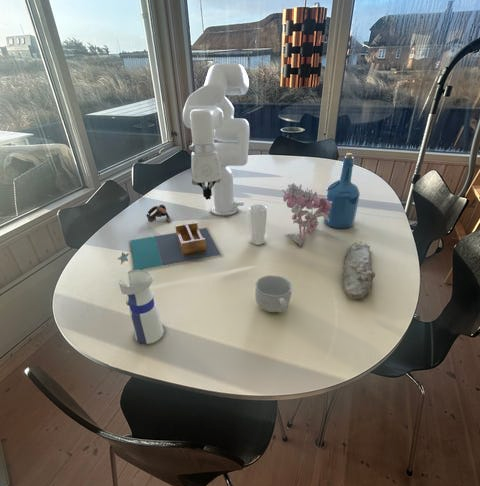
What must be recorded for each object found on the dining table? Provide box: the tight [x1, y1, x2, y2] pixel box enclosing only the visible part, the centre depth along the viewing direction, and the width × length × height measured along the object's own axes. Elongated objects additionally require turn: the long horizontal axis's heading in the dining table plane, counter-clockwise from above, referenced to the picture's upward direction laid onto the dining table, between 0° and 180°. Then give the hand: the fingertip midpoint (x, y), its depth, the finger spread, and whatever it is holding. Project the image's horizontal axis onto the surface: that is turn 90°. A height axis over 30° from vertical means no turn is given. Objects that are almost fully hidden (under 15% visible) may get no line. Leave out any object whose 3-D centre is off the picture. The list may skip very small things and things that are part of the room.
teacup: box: [254, 275, 293, 313], centre depth 95 cm, size 14×11×8 cm
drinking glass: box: [248, 204, 268, 246], centre depth 127 cm, size 7×7×15 cm
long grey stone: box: [342, 241, 376, 300], centre depth 111 cm, size 35×5×10 cm
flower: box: [281, 182, 332, 247], centre depth 130 cm, size 20×22×25 cm
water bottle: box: [117, 251, 165, 345], centre depth 83 cm, size 8×9×25 cm
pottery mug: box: [145, 204, 171, 223], centre depth 149 cm, size 12×10×8 cm
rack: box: [174, 221, 207, 256], centre depth 129 cm, size 9×16×6 cm, turn 18°
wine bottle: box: [323, 152, 361, 229], centre depth 136 cm, size 14×13×30 cm
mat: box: [130, 227, 221, 270], centre depth 129 cm, size 32×24×1 cm
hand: (207, 198), depth 123 cm, fingers closed
